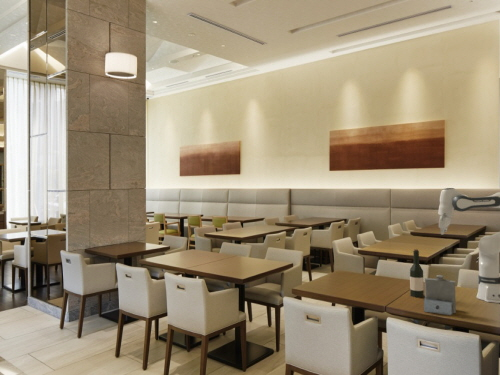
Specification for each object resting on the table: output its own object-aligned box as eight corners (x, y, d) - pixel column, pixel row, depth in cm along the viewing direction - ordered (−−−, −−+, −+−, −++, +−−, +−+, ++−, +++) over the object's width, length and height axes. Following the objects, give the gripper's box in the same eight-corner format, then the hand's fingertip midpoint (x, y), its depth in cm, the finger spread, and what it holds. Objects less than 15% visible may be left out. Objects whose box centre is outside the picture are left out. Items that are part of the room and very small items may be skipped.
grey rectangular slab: (424, 309, 233) (424, 274, 232) (426, 307, 236) (425, 273, 236) (455, 313, 224) (454, 277, 224) (456, 311, 227) (455, 276, 227)
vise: (454, 309, 232) (454, 297, 232) (451, 316, 220) (450, 303, 220) (428, 305, 239) (428, 293, 239) (423, 311, 227) (423, 299, 227)
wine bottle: (412, 293, 267) (411, 248, 267) (425, 295, 262) (424, 249, 262) (408, 296, 260) (407, 249, 260) (421, 298, 255) (420, 251, 255)
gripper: (448, 214, 251) (445, 236, 253) (453, 211, 268) (451, 231, 269) (437, 213, 255) (435, 234, 256) (443, 210, 272) (441, 230, 273)
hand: (443, 233), depth 263 cm, fingers open, 8 cm apart
